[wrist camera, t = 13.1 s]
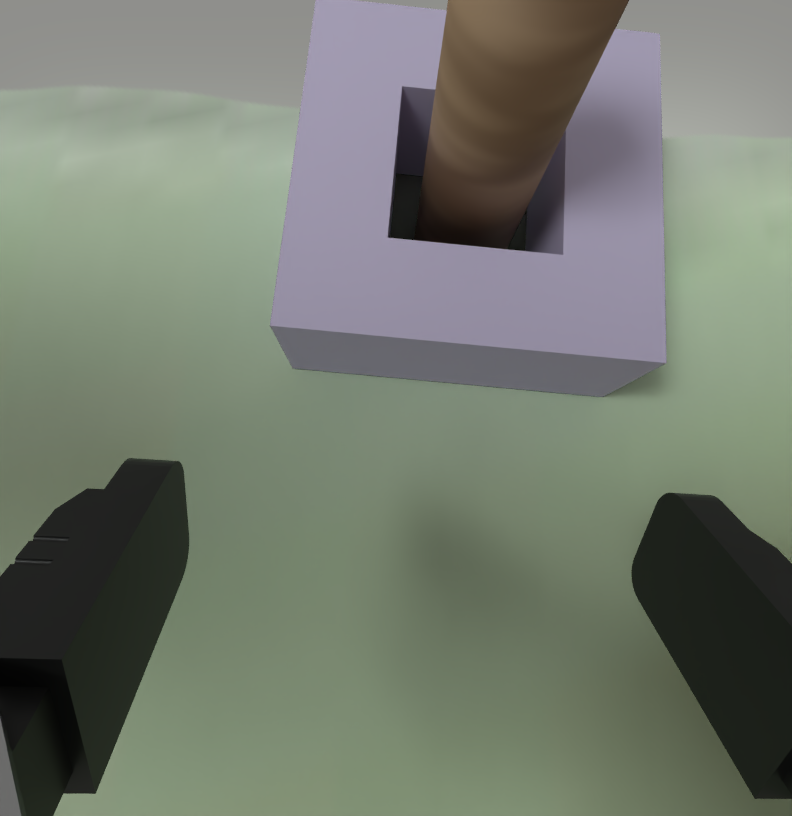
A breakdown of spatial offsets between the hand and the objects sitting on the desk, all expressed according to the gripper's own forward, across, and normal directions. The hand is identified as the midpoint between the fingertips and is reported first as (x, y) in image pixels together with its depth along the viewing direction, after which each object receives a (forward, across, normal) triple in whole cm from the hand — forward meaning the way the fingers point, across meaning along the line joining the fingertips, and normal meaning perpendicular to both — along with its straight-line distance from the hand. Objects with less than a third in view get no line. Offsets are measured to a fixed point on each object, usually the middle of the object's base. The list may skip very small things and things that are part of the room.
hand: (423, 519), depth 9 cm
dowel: (+17, -3, -2) cm, 17 cm away
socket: (+17, -3, -2) cm, 17 cm away
